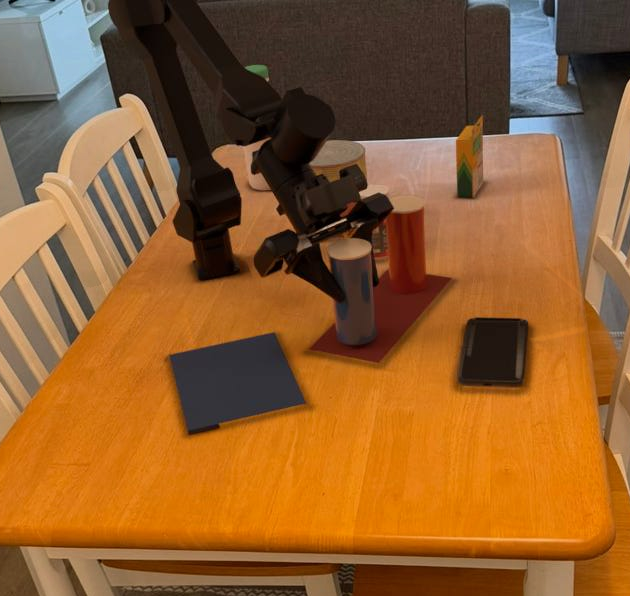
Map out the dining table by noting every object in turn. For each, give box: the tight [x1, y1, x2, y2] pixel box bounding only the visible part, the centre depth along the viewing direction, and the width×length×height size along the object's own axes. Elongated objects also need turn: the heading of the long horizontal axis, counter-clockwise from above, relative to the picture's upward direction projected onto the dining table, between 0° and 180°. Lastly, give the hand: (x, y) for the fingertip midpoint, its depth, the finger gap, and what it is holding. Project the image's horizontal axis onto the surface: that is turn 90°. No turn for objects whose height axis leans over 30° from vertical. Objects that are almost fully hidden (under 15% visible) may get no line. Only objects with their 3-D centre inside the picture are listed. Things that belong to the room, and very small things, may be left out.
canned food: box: [310, 139, 368, 241], centre depth 141 cm, size 11×11×12 cm
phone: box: [456, 316, 529, 388], centre depth 109 cm, size 8×1×15 cm
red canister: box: [386, 195, 427, 294], centre depth 121 cm, size 5×5×12 cm
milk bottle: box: [242, 64, 271, 191], centre depth 155 cm, size 8×8×20 cm
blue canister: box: [326, 238, 377, 345], centre depth 110 cm, size 5×5×12 cm
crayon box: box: [455, 114, 484, 199], centre depth 148 cm, size 7×3×12 cm, turn 160°
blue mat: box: [168, 332, 307, 435], centre depth 109 cm, size 18×14×1 cm
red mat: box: [308, 268, 452, 364], centre depth 119 cm, size 24×10×1 cm, turn 154°
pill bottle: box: [359, 184, 391, 260], centre depth 132 cm, size 6×6×10 cm
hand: (359, 293), depth 109 cm, fingers closed on blue canister, 5 cm apart
